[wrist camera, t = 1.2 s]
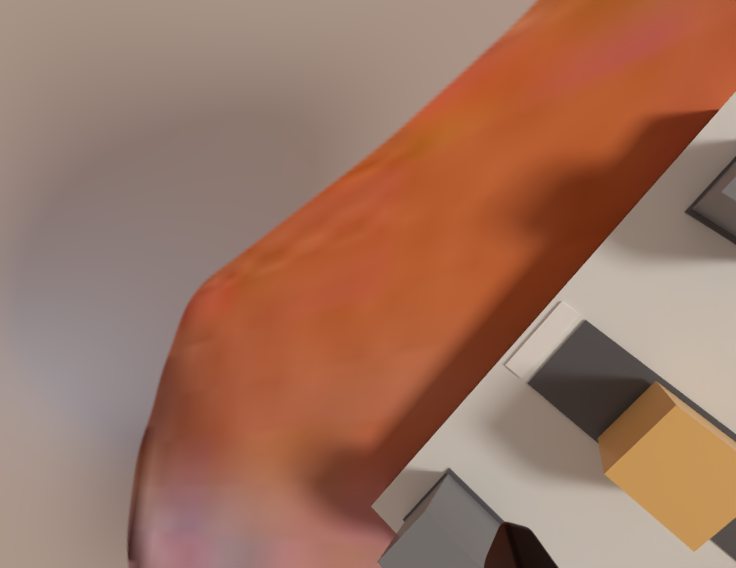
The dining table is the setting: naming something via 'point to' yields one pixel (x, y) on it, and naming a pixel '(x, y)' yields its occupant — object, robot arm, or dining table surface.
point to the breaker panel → (591, 390)
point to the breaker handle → (673, 465)
